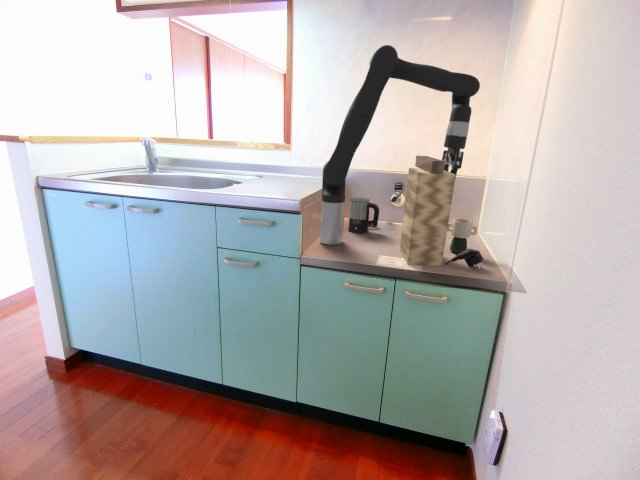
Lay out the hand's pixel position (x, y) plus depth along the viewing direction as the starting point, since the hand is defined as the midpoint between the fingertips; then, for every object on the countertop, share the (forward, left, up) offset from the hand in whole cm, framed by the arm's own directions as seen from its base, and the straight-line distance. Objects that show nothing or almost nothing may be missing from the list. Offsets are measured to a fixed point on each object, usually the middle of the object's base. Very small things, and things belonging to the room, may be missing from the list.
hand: (447, 178), depth 134 cm
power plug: (+3, -21, -28) cm, 35 cm away
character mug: (+6, -6, -28) cm, 29 cm away
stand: (-11, -14, -28) cm, 33 cm away
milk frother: (-29, +22, -28) cm, 46 cm away
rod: (-11, -10, +4) cm, 16 cm away
